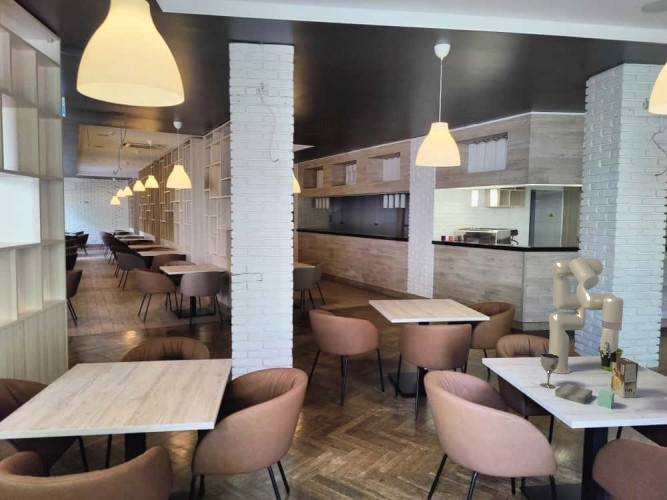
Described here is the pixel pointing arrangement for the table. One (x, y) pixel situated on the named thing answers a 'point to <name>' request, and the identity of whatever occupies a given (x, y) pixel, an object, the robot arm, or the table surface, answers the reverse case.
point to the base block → (573, 393)
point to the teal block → (606, 398)
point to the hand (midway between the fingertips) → (608, 364)
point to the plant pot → (619, 353)
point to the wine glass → (549, 367)
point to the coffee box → (624, 377)
